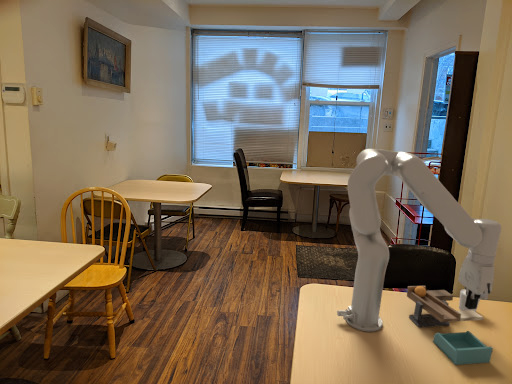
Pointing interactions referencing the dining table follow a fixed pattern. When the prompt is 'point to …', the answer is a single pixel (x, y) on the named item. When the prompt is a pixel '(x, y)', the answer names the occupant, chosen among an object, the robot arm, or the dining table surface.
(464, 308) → the white cup
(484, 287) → the robot arm
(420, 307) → the lever stand
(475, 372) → the dining table surface
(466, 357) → the teal tray
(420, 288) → the orange ball
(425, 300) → the walnut lever
